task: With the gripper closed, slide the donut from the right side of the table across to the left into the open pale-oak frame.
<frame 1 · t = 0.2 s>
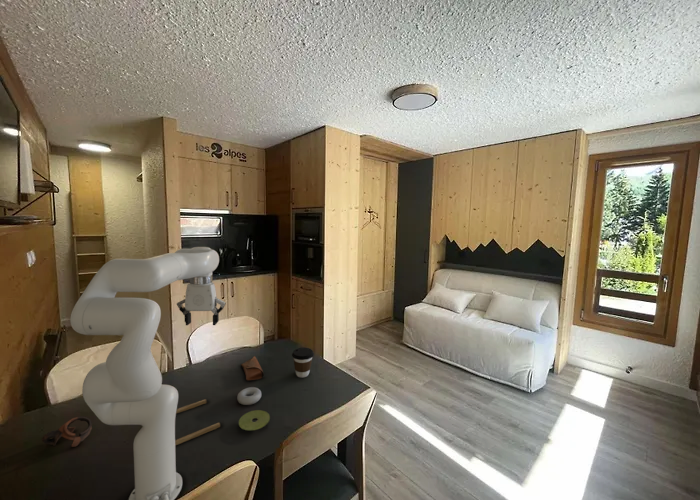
hand: (201, 324, 110), 37 cm above the table, tool pointing down, fingers open, 9 cm apart
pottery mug: (68, 442, 98), on the table
mat: (254, 424, 110), on the table
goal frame: (190, 422, 110), on the table
donut: (249, 399, 125), on the table
coffee cup: (302, 374, 147), on the table
sunglasses case: (251, 371, 148), on the table
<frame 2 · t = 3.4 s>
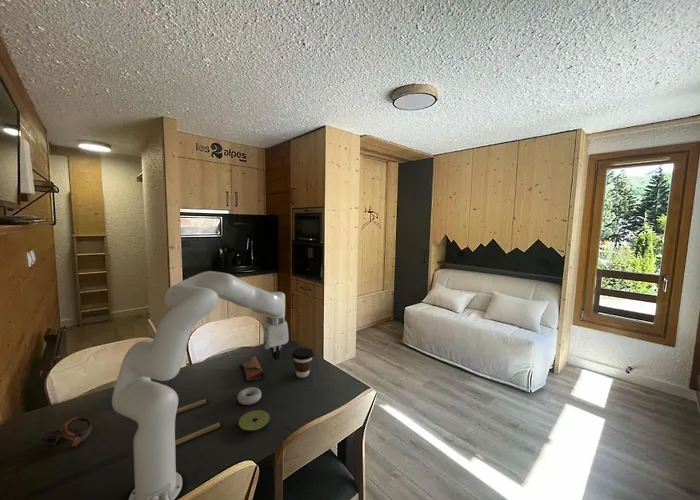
hand: (276, 358, 132), 15 cm above the table, tool pointing down, fingers closed
nothing on the table moved.
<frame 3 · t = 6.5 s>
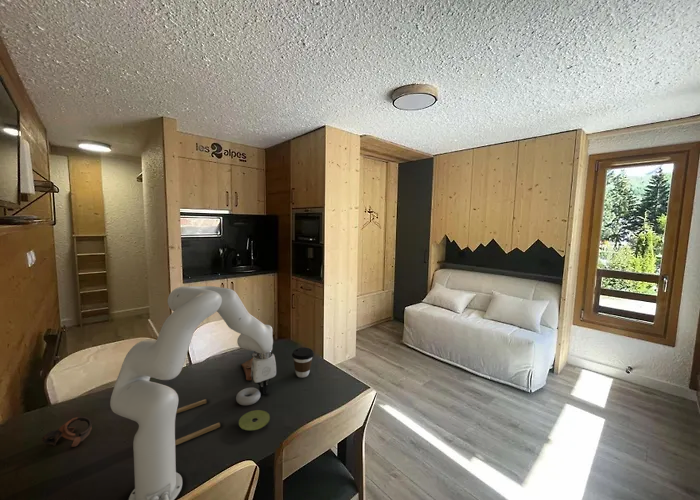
hand: (263, 392, 129), 1 cm above the table, tool pointing down, fingers closed
donut: (248, 400, 125), on the table, touching gripper
everything else where it was.
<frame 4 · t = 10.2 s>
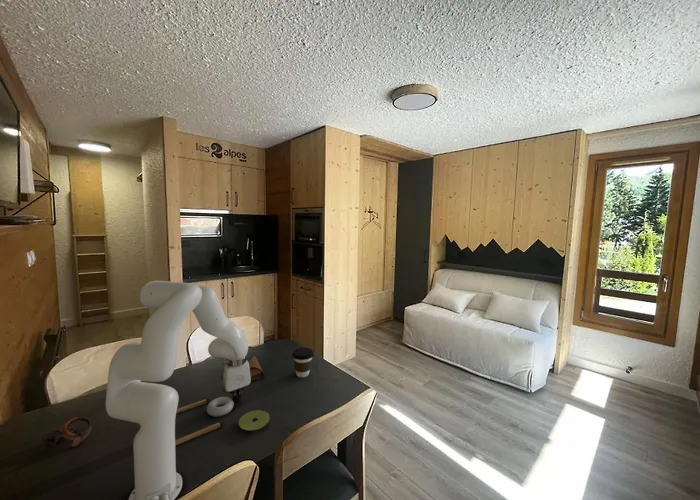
hand: (236, 401, 122), 1 cm above the table, tool pointing down, fingers closed
donut: (220, 410, 117), on the table, touching gripper
everything else where it was.
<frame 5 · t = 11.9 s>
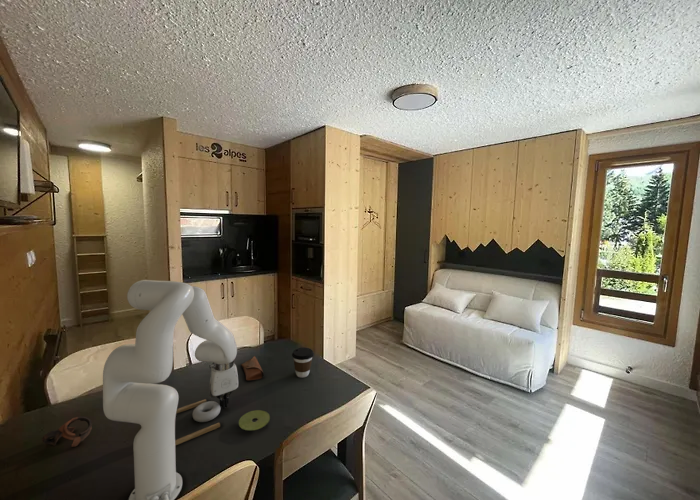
hand: (224, 406, 118), 1 cm above the table, tool pointing down, fingers closed
donut: (206, 415, 114), on the table, touching gripper
everything else where it was.
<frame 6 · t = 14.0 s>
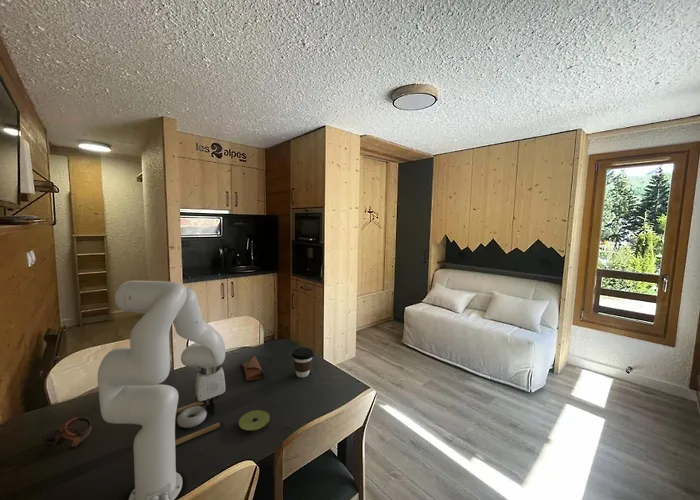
hand: (210, 411, 115), 1 cm above the table, tool pointing down, fingers closed
donut: (192, 421, 111), on the table, touching gripper
everything else where it was.
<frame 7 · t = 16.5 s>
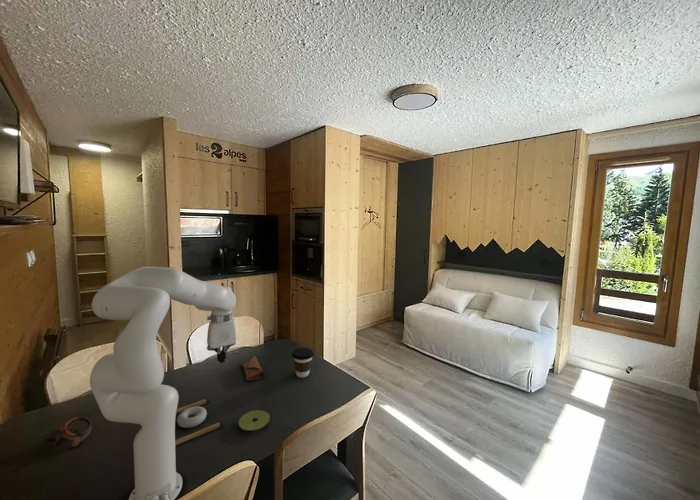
hand: (221, 361, 117), 20 cm above the table, tool pointing down, fingers closed
donut: (192, 421, 111), on the table
everything else where it was.
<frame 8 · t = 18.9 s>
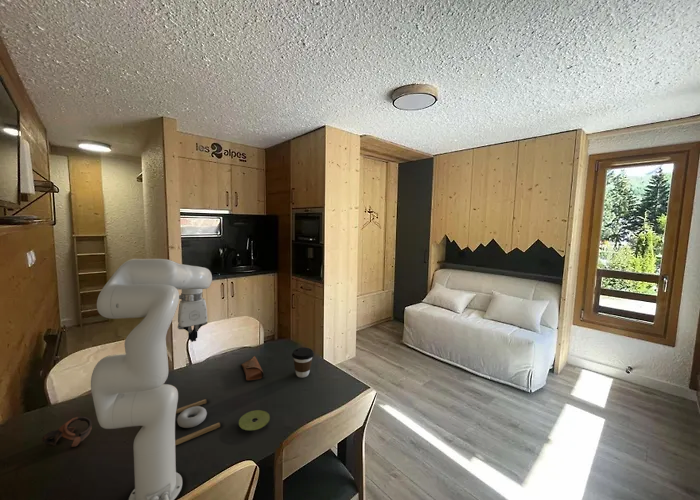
hand: (193, 340, 119), 27 cm above the table, tool pointing down, fingers closed
nothing on the table moved.
at the end: donut inside the target area (0.4 cm from its centre), on the table; donut moved 22.2 cm from its start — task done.
